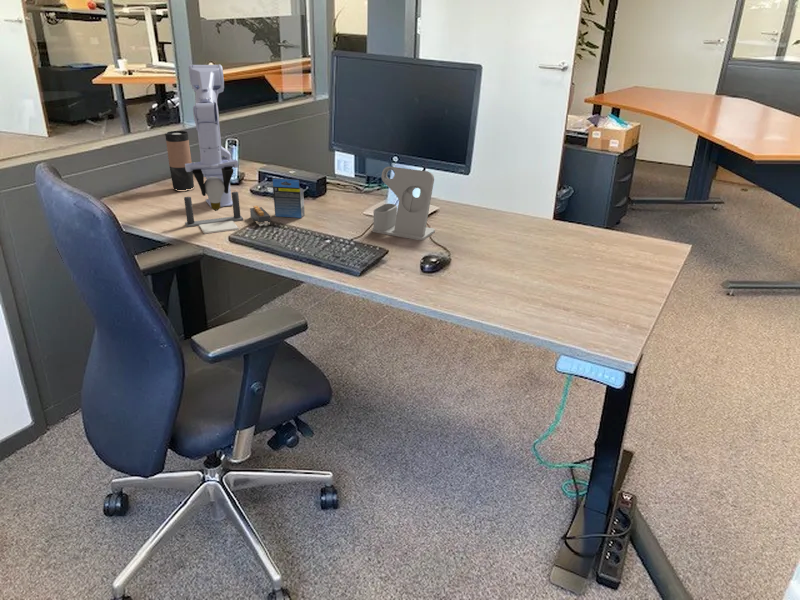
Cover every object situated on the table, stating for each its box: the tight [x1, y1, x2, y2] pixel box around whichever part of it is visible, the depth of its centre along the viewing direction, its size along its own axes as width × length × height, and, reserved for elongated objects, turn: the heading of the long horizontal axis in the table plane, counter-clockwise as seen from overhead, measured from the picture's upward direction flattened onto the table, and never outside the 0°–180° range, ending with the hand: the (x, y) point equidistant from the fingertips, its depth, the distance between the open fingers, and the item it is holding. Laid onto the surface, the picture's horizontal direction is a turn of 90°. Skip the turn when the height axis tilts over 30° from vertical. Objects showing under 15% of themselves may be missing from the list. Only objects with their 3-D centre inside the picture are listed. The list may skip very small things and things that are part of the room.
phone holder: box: [371, 166, 436, 241], centre depth 183 cm, size 17×10×18 cm, turn 64°
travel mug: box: [164, 130, 195, 190], centre depth 221 cm, size 8×8×20 cm
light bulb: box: [204, 177, 225, 212], centre depth 183 cm, size 6×6×10 cm
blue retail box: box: [271, 177, 305, 219], centre depth 196 cm, size 9×4×12 cm, turn 80°
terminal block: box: [249, 205, 272, 223], centre depth 192 cm, size 10×4×4 cm, turn 27°
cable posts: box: [183, 191, 244, 228], centre depth 190 cm, size 3×17×8 cm, turn 117°
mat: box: [199, 221, 239, 235], centre depth 187 cm, size 8×10×1 cm
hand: (215, 193), depth 183 cm, fingers closed on light bulb, 6 cm apart
